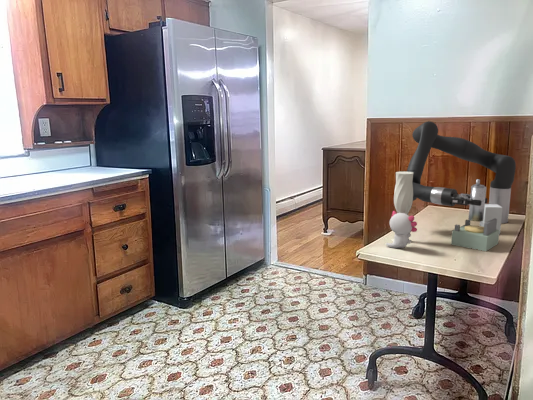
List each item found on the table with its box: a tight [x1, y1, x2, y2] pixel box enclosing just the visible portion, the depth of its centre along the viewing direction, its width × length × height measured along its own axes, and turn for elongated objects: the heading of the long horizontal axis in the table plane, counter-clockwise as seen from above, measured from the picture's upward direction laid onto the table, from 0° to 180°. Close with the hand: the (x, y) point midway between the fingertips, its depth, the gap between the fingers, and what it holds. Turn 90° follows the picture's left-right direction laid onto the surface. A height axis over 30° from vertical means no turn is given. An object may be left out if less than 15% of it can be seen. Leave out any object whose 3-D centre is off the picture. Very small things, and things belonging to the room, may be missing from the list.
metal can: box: [468, 178, 487, 223], centre depth 183 cm, size 6×6×17 cm
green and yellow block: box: [450, 218, 500, 252], centre depth 186 cm, size 14×14×11 cm
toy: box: [384, 210, 418, 249], centre depth 181 cm, size 14×8×15 cm, turn 29°
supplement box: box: [478, 203, 502, 235], centre depth 203 cm, size 7×7×13 cm
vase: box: [390, 171, 414, 243], centre depth 190 cm, size 9×8×30 cm
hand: (483, 202), depth 181 cm, fingers closed on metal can, 5 cm apart
